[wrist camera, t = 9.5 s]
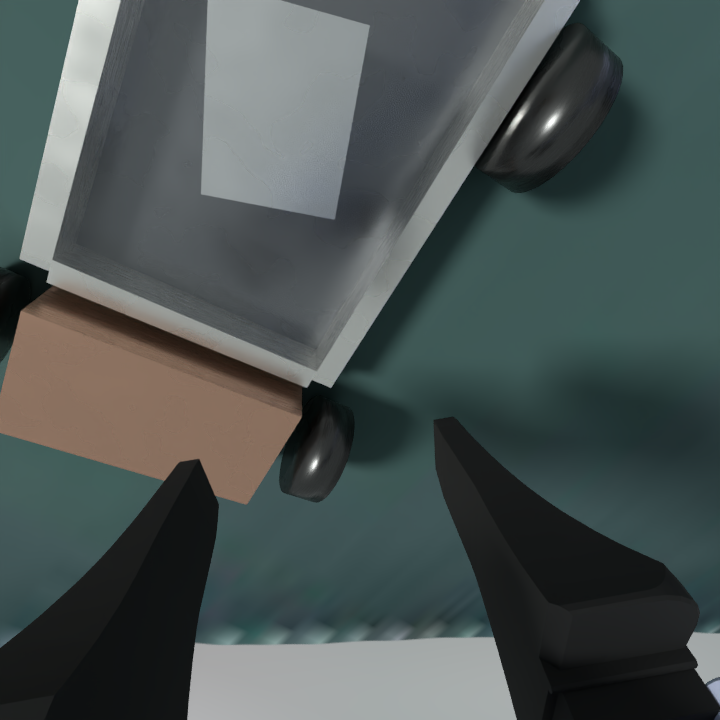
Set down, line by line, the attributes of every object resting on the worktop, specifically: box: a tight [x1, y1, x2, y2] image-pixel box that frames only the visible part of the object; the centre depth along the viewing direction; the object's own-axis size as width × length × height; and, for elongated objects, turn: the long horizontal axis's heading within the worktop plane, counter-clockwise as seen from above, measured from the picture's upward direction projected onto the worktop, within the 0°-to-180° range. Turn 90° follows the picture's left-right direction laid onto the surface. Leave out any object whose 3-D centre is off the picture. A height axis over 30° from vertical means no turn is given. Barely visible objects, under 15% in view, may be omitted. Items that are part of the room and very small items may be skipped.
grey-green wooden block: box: [201, 0, 370, 220], centre depth 14 cm, size 4×5×5 cm
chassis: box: [0, 0, 623, 505], centre depth 16 cm, size 17×24×5 cm
